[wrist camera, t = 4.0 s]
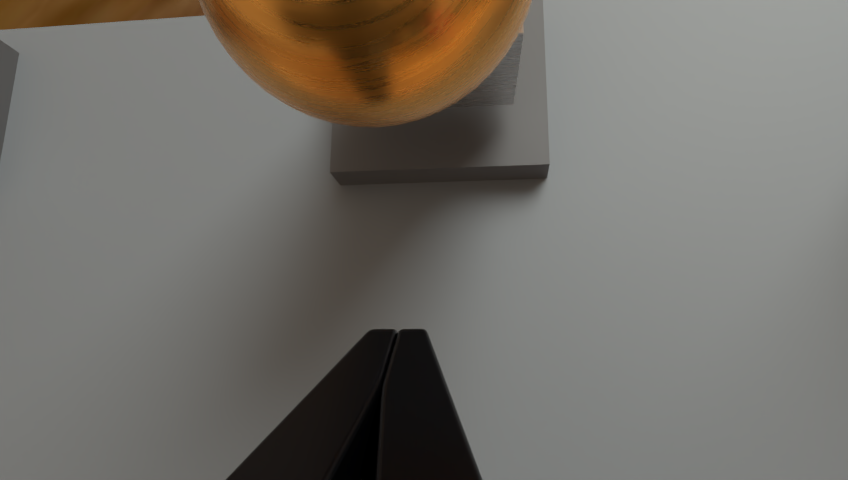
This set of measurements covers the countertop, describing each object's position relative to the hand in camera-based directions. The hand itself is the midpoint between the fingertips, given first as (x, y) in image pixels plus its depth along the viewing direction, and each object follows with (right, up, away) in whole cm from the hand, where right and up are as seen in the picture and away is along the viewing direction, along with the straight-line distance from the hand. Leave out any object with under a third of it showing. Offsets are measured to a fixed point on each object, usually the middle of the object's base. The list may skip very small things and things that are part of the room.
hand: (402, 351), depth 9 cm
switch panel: (+1, +1, +8) cm, 8 cm away
